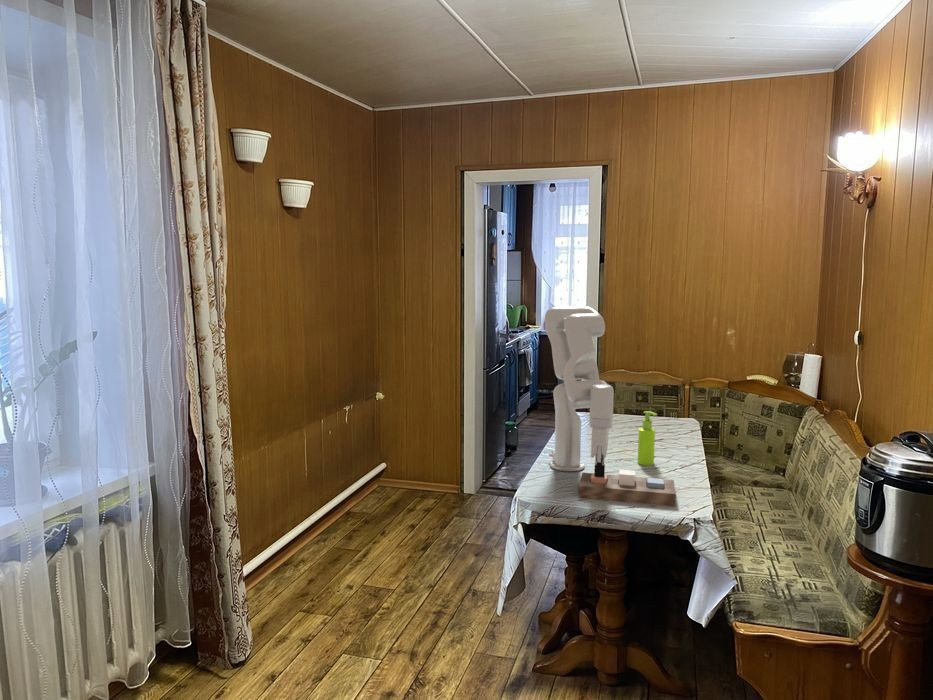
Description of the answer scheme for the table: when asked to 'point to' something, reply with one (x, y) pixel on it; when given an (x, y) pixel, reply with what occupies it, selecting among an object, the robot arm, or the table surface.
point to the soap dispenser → (646, 441)
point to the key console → (627, 491)
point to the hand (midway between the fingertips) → (599, 476)
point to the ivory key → (627, 477)
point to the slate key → (655, 483)
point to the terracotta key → (599, 479)
